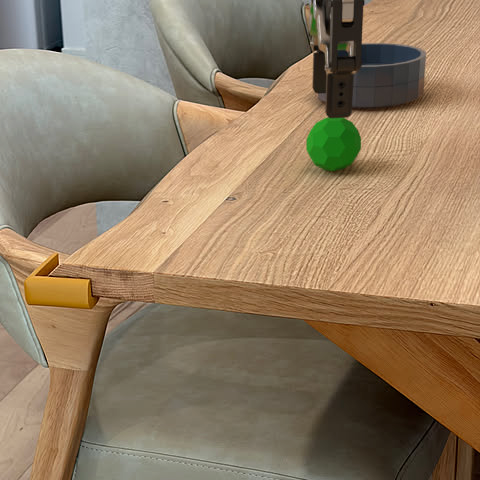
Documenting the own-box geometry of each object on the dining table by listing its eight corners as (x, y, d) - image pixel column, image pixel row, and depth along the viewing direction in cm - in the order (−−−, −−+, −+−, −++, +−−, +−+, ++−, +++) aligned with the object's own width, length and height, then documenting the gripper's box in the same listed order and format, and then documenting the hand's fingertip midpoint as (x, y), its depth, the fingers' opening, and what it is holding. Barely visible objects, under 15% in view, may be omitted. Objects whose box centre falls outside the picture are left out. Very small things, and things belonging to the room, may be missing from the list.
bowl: (445, 94, 106) (448, 50, 104) (376, 117, 100) (378, 71, 97) (362, 79, 115) (363, 39, 113) (293, 100, 108) (293, 57, 106)
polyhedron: (316, 158, 89) (317, 109, 86) (366, 162, 86) (368, 113, 84) (299, 174, 85) (299, 124, 83) (350, 179, 83) (352, 128, 80)
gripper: (402, -86, 69) (388, 124, 76) (367, -99, 81) (358, 83, 89) (303, -80, 69) (298, 128, 77) (283, -94, 82) (281, 86, 89)
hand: (330, 103), depth 83 cm, fingers open, 8 cm apart
